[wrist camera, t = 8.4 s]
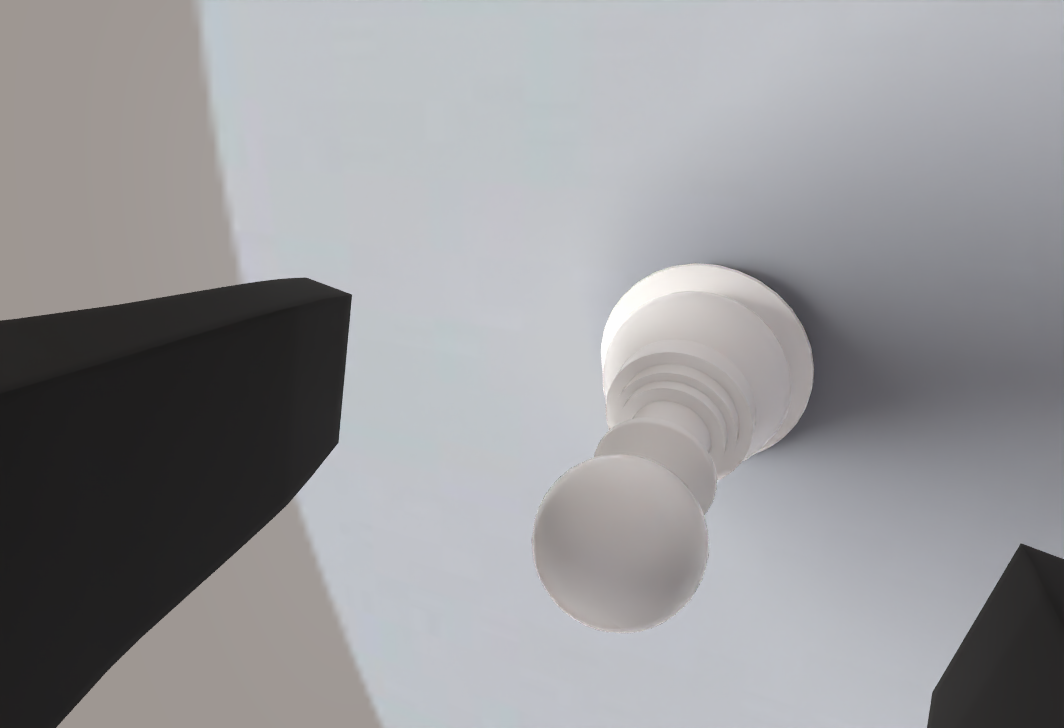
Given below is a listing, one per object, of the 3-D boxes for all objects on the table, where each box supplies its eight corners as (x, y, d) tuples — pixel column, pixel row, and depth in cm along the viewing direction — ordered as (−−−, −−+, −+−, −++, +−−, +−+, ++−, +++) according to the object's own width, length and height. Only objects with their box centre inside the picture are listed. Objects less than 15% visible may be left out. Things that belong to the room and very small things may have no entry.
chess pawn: (755, 223, 11) (641, 400, 7) (852, 416, 12) (798, 684, 8) (571, 306, 13) (388, 494, 9) (664, 475, 13) (534, 727, 9)
